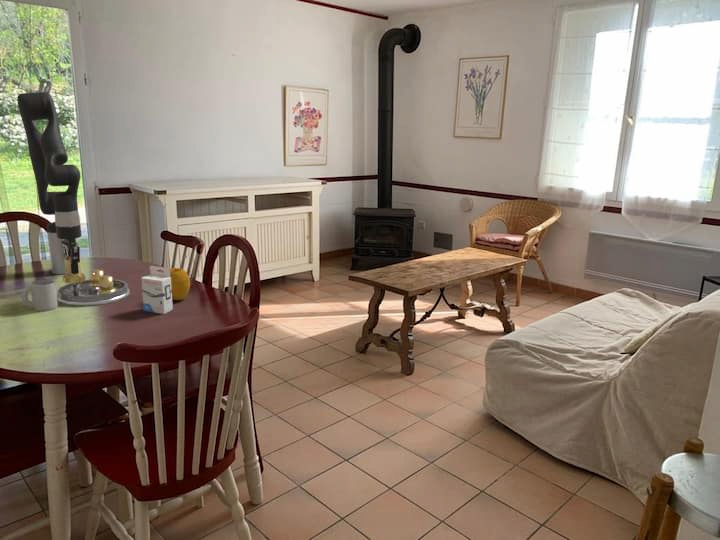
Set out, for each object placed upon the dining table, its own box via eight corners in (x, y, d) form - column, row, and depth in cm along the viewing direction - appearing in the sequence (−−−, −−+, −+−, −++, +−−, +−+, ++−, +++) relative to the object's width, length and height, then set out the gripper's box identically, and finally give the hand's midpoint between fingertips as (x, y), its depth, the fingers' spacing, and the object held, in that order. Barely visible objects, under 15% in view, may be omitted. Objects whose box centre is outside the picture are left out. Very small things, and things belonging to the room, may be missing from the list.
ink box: (142, 311, 184) (139, 268, 180) (152, 306, 188) (149, 265, 185) (164, 314, 181) (161, 271, 178) (173, 309, 186) (170, 267, 182)
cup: (58, 309, 183) (55, 284, 181) (23, 314, 178) (20, 287, 176) (57, 303, 189) (54, 278, 187) (23, 307, 184) (20, 282, 182)
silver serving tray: (50, 293, 199) (47, 273, 197) (117, 283, 214) (115, 264, 212) (67, 310, 182) (64, 288, 180) (139, 297, 197) (137, 277, 195)
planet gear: (61, 280, 193) (58, 258, 191) (82, 277, 197) (79, 255, 195) (66, 284, 188) (63, 262, 186) (87, 281, 192) (85, 259, 190)
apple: (157, 299, 196) (155, 267, 193) (180, 293, 204) (178, 262, 201) (173, 305, 191) (171, 272, 188) (196, 298, 198) (195, 267, 195)
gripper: (50, 221, 190) (56, 269, 195) (61, 228, 180) (66, 278, 184) (74, 219, 195) (79, 266, 200) (85, 225, 185) (90, 274, 189)
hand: (73, 271), depth 192 cm, fingers closed on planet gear, 4 cm apart
